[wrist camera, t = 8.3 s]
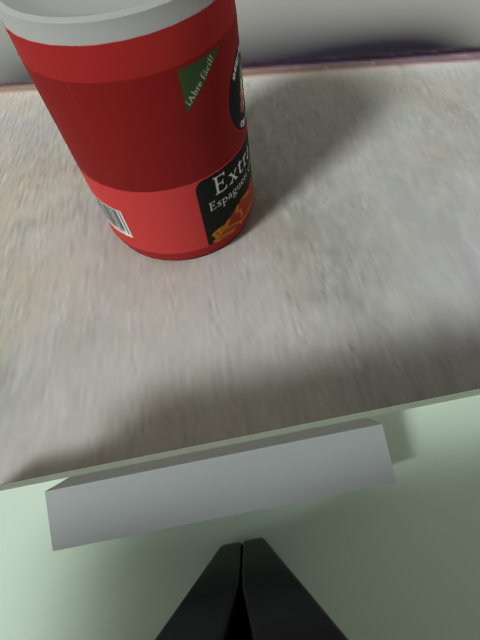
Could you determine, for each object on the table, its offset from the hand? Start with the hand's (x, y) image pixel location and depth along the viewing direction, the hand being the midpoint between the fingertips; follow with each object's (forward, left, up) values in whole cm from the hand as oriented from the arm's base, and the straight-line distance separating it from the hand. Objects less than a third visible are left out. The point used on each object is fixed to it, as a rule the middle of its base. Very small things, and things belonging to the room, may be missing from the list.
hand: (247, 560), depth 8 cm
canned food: (+17, +1, -7) cm, 19 cm away
